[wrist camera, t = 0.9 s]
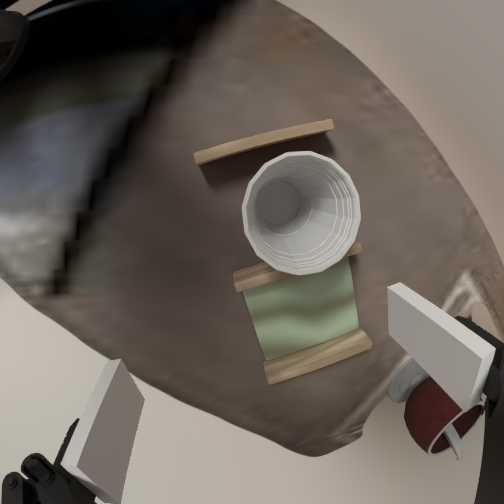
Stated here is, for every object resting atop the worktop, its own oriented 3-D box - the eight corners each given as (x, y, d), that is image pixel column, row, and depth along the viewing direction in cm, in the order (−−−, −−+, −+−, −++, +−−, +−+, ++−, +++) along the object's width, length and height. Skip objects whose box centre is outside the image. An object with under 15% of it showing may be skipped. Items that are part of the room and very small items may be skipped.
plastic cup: (323, 163, 35) (369, 161, 23) (313, 246, 37) (353, 277, 26) (238, 153, 33) (248, 141, 22) (230, 241, 36) (236, 272, 24)
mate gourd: (380, 373, 45) (436, 448, 26) (438, 337, 45) (503, 393, 26) (387, 416, 50) (429, 480, 30) (437, 384, 50) (486, 438, 30)
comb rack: (195, 155, 33) (192, 153, 29) (320, 124, 33) (331, 118, 30) (264, 368, 42) (269, 384, 38) (361, 334, 42) (372, 347, 38)
